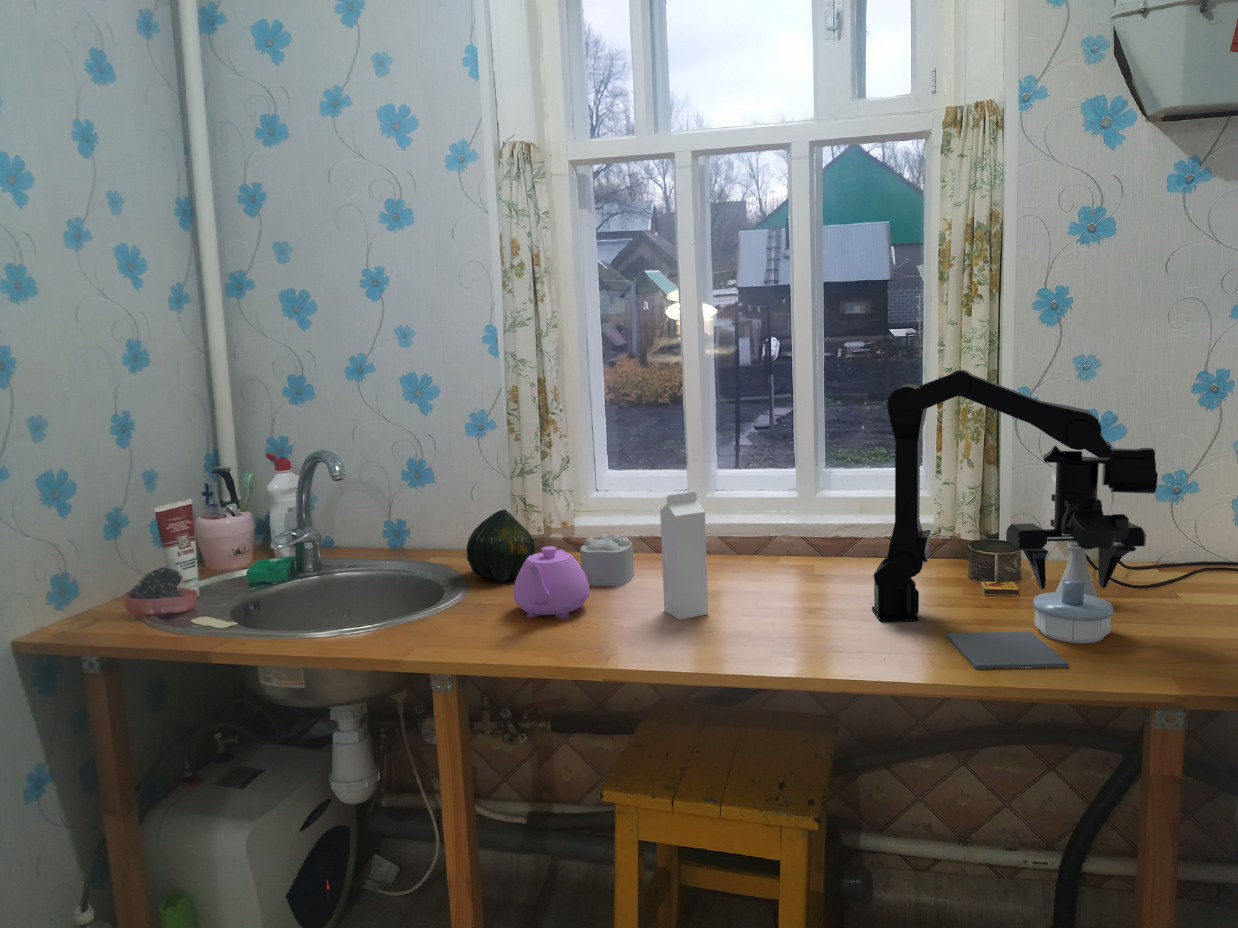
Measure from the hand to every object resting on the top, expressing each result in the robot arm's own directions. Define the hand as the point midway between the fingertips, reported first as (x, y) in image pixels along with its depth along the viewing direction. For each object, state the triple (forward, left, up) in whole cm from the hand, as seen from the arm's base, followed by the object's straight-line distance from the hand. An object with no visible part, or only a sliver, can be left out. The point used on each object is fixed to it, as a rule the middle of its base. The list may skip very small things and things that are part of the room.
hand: (1072, 587), depth 130 cm
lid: (0, 0, -3) cm, 3 cm away
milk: (-61, +14, -8) cm, 63 cm away
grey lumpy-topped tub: (-77, +38, -8) cm, 86 cm away
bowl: (0, 0, -7) cm, 7 cm away
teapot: (-86, +16, -8) cm, 88 cm away
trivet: (-13, -7, -7) cm, 16 cm away
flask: (+8, +16, -8) cm, 19 cm away
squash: (-100, +40, -8) cm, 108 cm away
